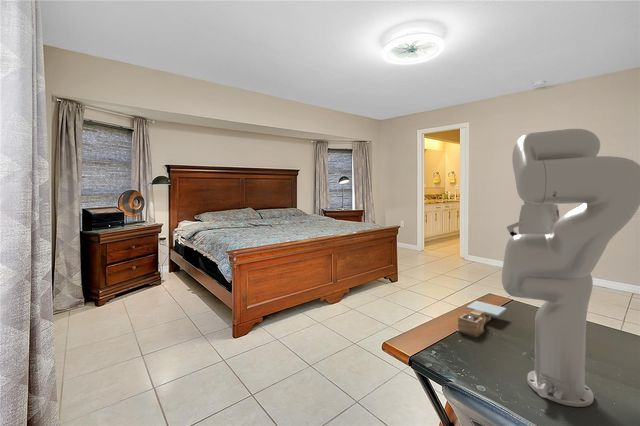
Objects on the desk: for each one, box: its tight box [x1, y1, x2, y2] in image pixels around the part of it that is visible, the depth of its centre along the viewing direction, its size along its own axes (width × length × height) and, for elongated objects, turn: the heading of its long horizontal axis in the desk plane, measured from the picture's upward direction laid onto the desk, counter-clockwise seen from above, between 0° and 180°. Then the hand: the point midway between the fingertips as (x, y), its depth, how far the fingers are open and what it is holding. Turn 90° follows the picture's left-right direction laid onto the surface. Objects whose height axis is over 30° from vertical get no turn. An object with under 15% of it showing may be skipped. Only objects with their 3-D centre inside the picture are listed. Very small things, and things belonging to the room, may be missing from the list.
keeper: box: [465, 300, 507, 318], centre depth 113 cm, size 9×11×4 cm
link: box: [457, 309, 492, 336], centre depth 107 cm, size 18×6×5 cm, turn 130°
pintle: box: [455, 316, 486, 338], centre depth 103 cm, size 7×7×5 cm
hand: (538, 254), depth 93 cm, fingers open, 9 cm apart
